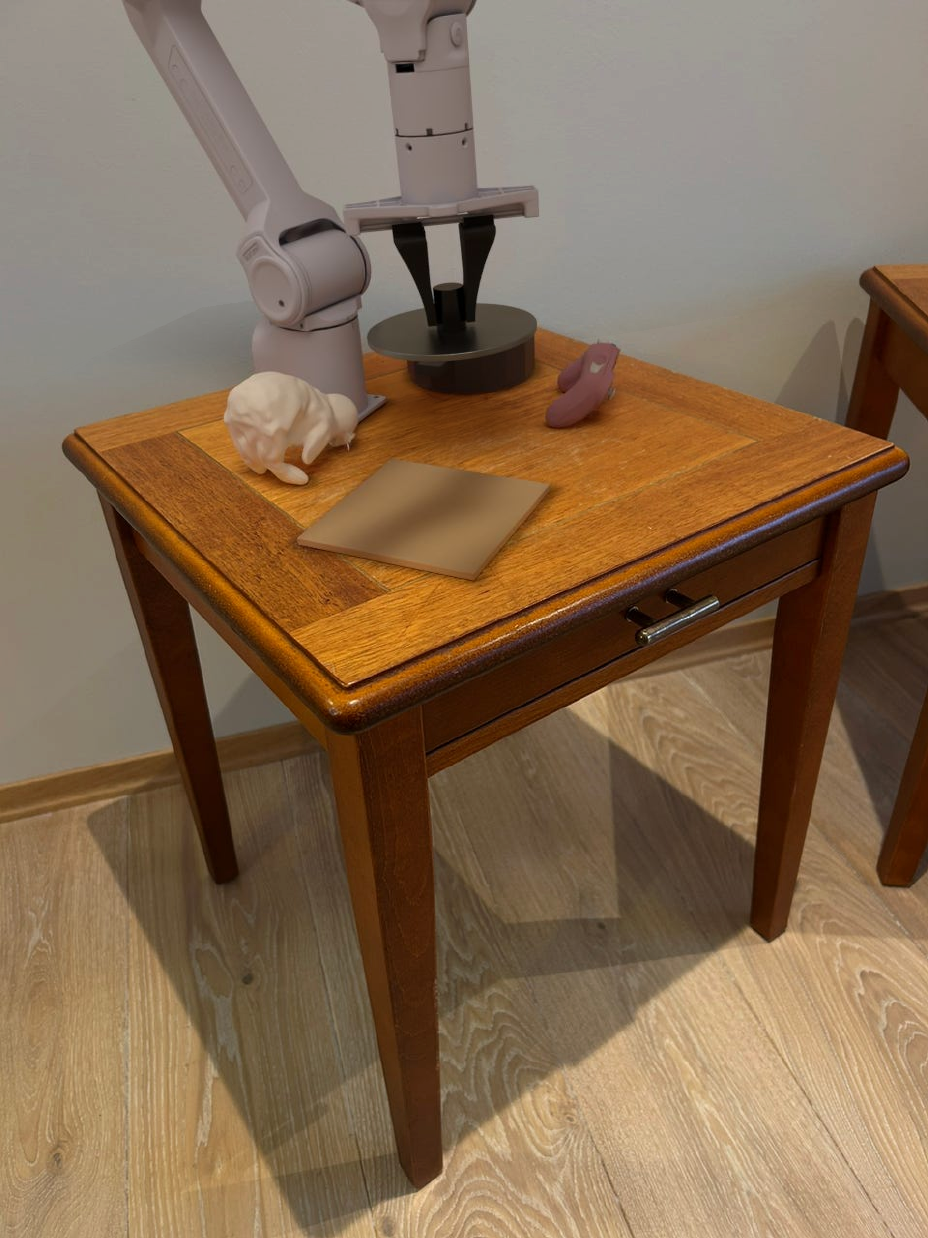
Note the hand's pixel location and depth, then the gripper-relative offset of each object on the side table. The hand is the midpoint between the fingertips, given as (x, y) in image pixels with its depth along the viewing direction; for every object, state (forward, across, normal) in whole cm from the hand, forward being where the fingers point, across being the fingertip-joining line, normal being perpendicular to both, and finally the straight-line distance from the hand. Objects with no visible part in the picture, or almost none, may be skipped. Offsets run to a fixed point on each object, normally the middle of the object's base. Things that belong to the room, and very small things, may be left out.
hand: (450, 320), depth 77 cm
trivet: (+11, -4, -13) cm, 17 cm away
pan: (+10, +3, +17) cm, 20 cm away
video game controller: (+11, +12, +5) cm, 17 cm away
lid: (+1, 0, 0) cm, 1 cm away
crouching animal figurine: (+10, -13, -1) cm, 17 cm away
